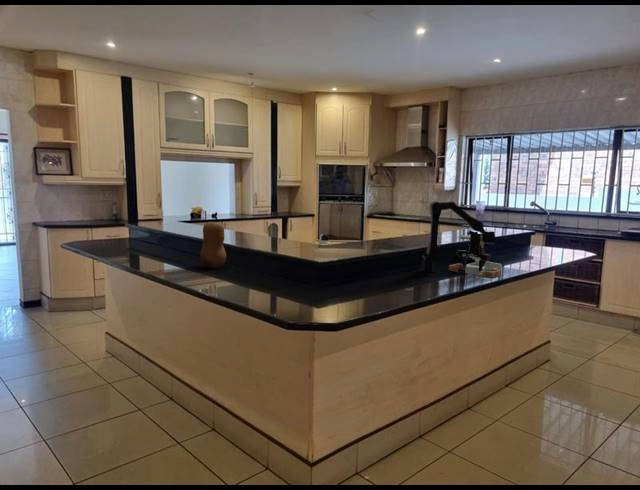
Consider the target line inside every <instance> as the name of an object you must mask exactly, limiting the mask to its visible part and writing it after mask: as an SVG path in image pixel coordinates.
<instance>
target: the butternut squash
mask: <svg viewBox="0 0 640 490" xmlns="http://www.w3.org/2000/svg"><path fill="white" fill-rule="evenodd" d="M202 234H203V235H202V236H203V237H202V247H201V250H200V261H201V263H202V264H203V265H204V266H205V267H208V268H210V269H218V268H221V267H222V266H223V265H224V264H225V262H226V260H227V253H226V250H225V247H224V242H225V227H224V225H223V224H222V223H220V222H216V221H208V222H206V223H204V225H203V228H202Z"/></svg>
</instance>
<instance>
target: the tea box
mask: <svg viewBox="0 0 640 490" xmlns="http://www.w3.org/2000/svg"><path fill="white" fill-rule="evenodd" d="M460 239H469V240H470V235H464V234H463V235H462V234H461V235H460ZM480 245H481V247H482V248H484V245H485V243H483V241H480ZM471 255H473V254H471ZM476 256H477V255H476ZM469 257H470V258H472V259H471V260H475V259H477V260H481V259H480V258H479V257H474V256H469Z"/></svg>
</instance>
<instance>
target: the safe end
mask: <svg viewBox="0 0 640 490" xmlns="http://www.w3.org/2000/svg"><path fill="white" fill-rule="evenodd" d="M474 263H476V266H479V260H477V259H474ZM502 266H503V264H502V263H497V262H492V261H486V262H485V264H484V266H483V267H485V271H489V272H491V270H492V269H494V268H498V267H499V268H500V270H501V271H502V268H503V267H502Z"/></svg>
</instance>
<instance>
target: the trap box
mask: <svg viewBox="0 0 640 490" xmlns="http://www.w3.org/2000/svg"><path fill="white" fill-rule="evenodd" d="M467 265H474V266H476V263H475V262H471V263H468V264H467ZM459 270H462V271H463V270H464V271H465V270H466V268H464V266H463V263H455V264H450V265H449V266H448V271H451V272H455V273H458V272H459ZM501 276H502V269H501V270H500V268H499V267H498V268H494V269H492V270H491V271H489V270H485V271H480V273H479V275H478V277H479V278H484V277H486V278H491V279H494V278H497V277H501Z"/></svg>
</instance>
